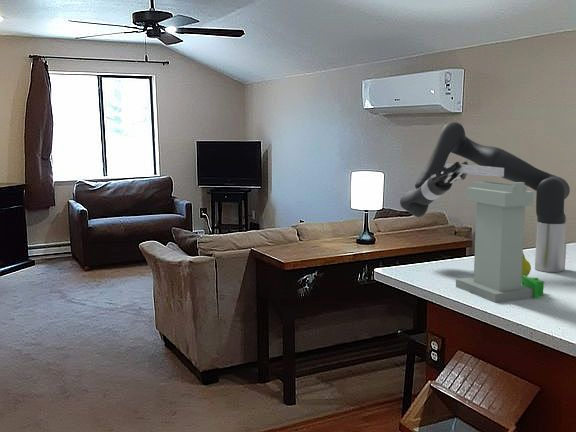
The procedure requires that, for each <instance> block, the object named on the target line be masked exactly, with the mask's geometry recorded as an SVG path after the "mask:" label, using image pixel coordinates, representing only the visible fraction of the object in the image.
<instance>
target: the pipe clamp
mask: <svg viewBox="0 0 576 432" xmlns="http://www.w3.org/2000/svg"><path fill="white" fill-rule="evenodd" d="M544 284H545V281H541V280H539V277H529V276H526V275H522V279H521V285H522V286H525V287H528V288H531V289H534V296H533V298H532V299H539V297H543V296H544V288H545V287H544V286H545V285H544Z"/></svg>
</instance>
